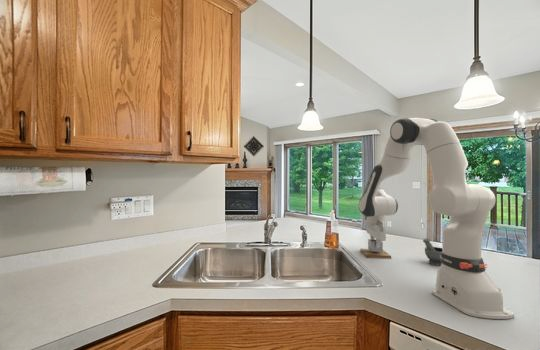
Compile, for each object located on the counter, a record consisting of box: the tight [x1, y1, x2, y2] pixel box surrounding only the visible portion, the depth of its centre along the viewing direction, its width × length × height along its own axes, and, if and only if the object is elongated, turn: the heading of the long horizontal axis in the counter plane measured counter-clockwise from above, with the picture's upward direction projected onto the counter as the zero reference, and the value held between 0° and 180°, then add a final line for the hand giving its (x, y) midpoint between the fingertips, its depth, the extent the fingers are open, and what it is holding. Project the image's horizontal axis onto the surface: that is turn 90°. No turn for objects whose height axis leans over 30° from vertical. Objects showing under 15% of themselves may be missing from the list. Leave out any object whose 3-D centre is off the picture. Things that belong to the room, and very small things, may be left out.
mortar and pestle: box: [422, 237, 442, 267], centre depth 125 cm, size 11×9×12 cm
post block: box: [359, 248, 392, 259], centre depth 139 cm, size 12×12×6 cm
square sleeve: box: [367, 238, 384, 252], centre depth 139 cm, size 6×6×5 cm
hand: (375, 245), depth 139 cm, fingers open, 6 cm apart
